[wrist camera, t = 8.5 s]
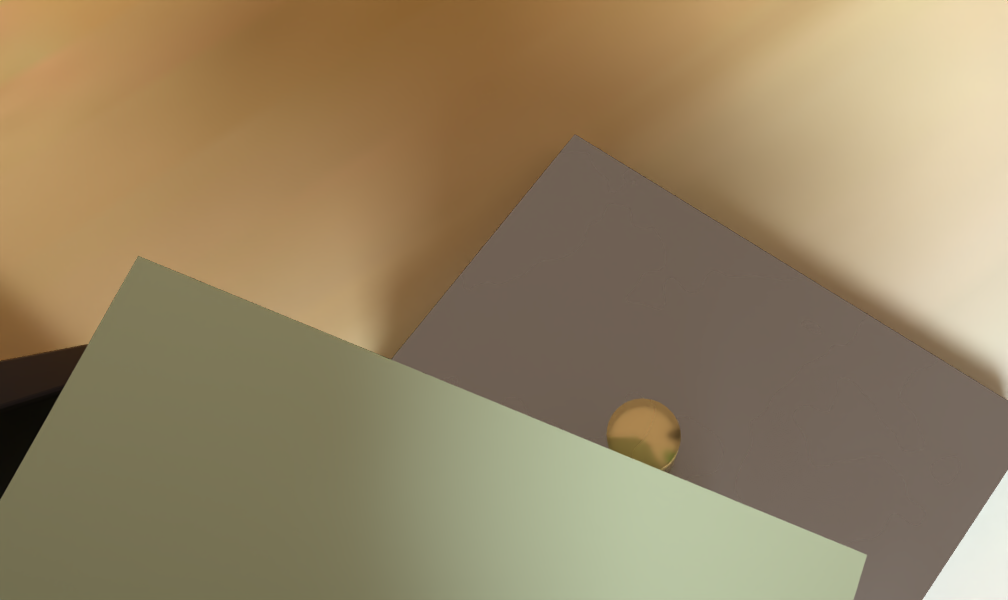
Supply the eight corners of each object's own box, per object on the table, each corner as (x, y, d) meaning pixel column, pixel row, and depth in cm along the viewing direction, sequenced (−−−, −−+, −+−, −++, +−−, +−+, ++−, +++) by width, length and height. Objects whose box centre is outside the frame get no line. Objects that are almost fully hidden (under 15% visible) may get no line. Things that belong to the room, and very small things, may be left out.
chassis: (634, 1001, 15) (632, 1129, 12) (229, 586, 19) (140, 594, 16) (1014, 429, 17) (1104, 399, 14) (578, 156, 21) (566, 81, 18)
